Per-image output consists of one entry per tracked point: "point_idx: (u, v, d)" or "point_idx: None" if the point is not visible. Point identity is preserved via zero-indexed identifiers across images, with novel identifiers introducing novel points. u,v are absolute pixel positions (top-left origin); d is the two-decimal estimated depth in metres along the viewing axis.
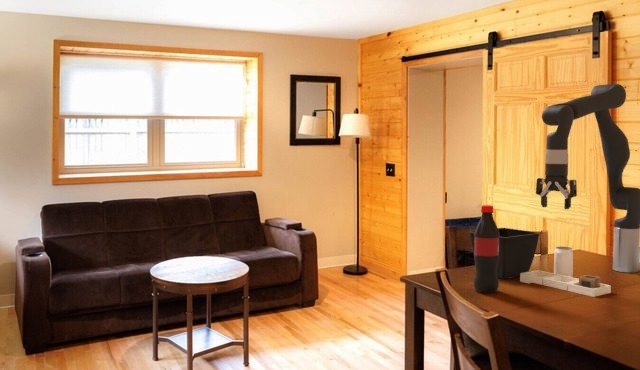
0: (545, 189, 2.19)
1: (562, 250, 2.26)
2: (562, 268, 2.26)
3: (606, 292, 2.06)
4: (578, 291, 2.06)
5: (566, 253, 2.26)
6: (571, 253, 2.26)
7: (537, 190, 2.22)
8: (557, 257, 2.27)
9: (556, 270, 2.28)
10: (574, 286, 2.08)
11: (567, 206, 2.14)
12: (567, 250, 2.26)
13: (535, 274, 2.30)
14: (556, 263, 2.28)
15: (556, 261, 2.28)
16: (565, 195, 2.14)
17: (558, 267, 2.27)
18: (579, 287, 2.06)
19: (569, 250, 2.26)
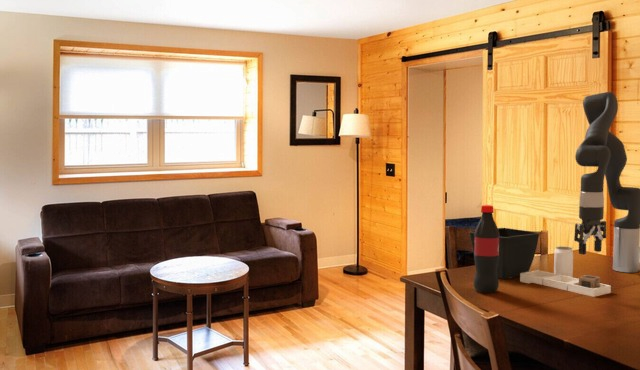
0: (589, 235, 2.04)
1: (562, 250, 2.26)
2: (562, 268, 2.26)
3: (606, 292, 2.06)
4: (578, 291, 2.06)
5: (566, 253, 2.26)
6: (571, 253, 2.26)
7: (582, 237, 2.03)
8: (557, 257, 2.27)
9: (556, 270, 2.28)
10: (574, 286, 2.08)
11: (600, 248, 2.09)
12: (567, 250, 2.26)
13: (535, 274, 2.30)
14: (556, 263, 2.28)
15: (556, 261, 2.28)
16: (601, 237, 2.08)
17: (558, 267, 2.27)
18: (579, 287, 2.06)
19: (569, 250, 2.26)
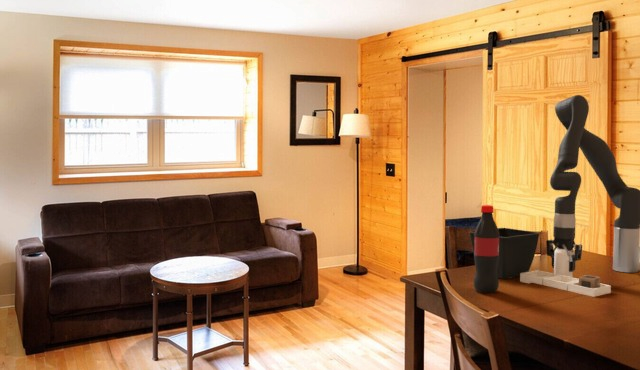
0: None
1: (562, 250, 2.26)
2: (562, 268, 2.26)
3: (606, 292, 2.06)
4: (578, 291, 2.06)
5: (566, 253, 2.26)
6: None
7: None
8: (557, 257, 2.27)
9: (556, 270, 2.28)
10: (574, 286, 2.08)
11: None
12: None
13: (535, 274, 2.30)
14: (556, 263, 2.28)
15: (556, 261, 2.28)
16: None
17: (558, 267, 2.27)
18: (579, 287, 2.06)
19: None
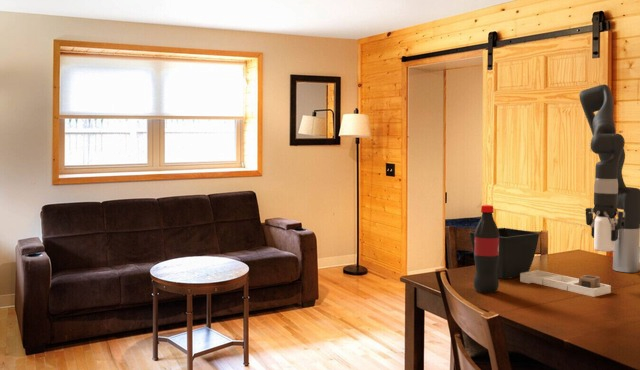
0: None
1: (603, 218, 2.11)
2: (604, 238, 2.11)
3: (606, 292, 2.06)
4: (578, 291, 2.06)
5: (608, 221, 2.10)
6: None
7: None
8: (598, 226, 2.12)
9: (597, 240, 2.13)
10: (574, 286, 2.08)
11: None
12: None
13: (535, 274, 2.30)
14: (597, 232, 2.12)
15: (597, 230, 2.12)
16: None
17: (599, 237, 2.12)
18: (579, 287, 2.06)
19: None
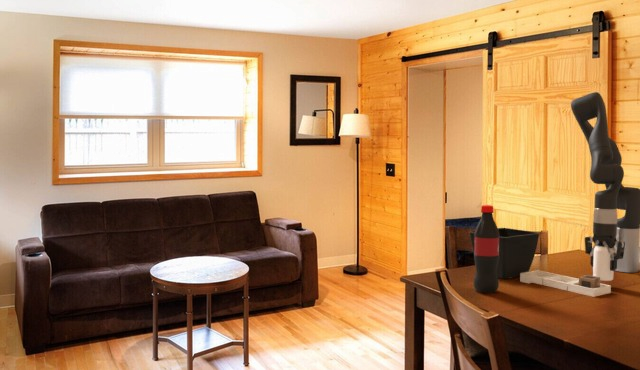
0: None
1: (603, 248, 2.11)
2: (603, 267, 2.11)
3: (606, 292, 2.06)
4: (578, 291, 2.06)
5: (607, 251, 2.11)
6: None
7: None
8: (597, 255, 2.13)
9: (596, 269, 2.13)
10: (574, 286, 2.08)
11: None
12: None
13: (535, 274, 2.30)
14: (596, 261, 2.13)
15: (596, 260, 2.13)
16: None
17: (598, 266, 2.12)
18: (579, 287, 2.06)
19: None
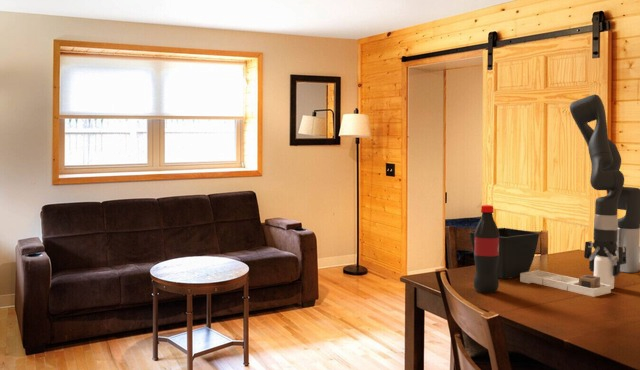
0: None
1: (603, 258, 2.12)
2: (603, 277, 2.12)
3: (606, 292, 2.06)
4: (578, 291, 2.06)
5: (607, 261, 2.11)
6: None
7: None
8: (597, 265, 2.13)
9: None
10: (574, 286, 2.08)
11: None
12: (608, 258, 2.11)
13: (535, 274, 2.30)
14: (596, 272, 2.13)
15: (597, 270, 2.13)
16: None
17: (598, 276, 2.13)
18: (579, 287, 2.06)
19: None
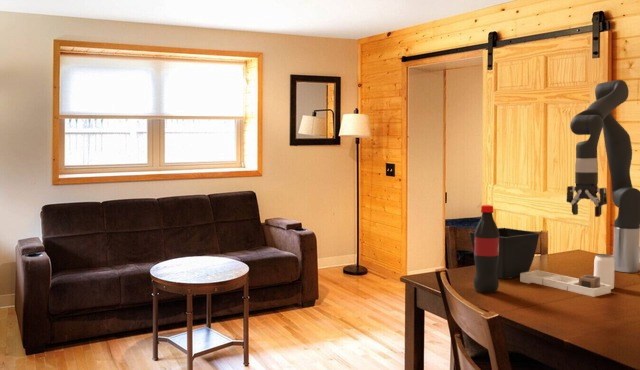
0: None
1: (603, 258, 2.12)
2: (603, 277, 2.12)
3: (606, 292, 2.06)
4: (578, 291, 2.06)
5: (608, 261, 2.11)
6: (613, 261, 2.12)
7: None
8: (598, 265, 2.13)
9: None
10: (574, 286, 2.08)
11: None
12: (609, 258, 2.11)
13: (535, 274, 2.30)
14: (596, 272, 2.13)
15: (597, 270, 2.13)
16: None
17: (598, 276, 2.13)
18: (579, 287, 2.06)
19: (611, 258, 2.11)
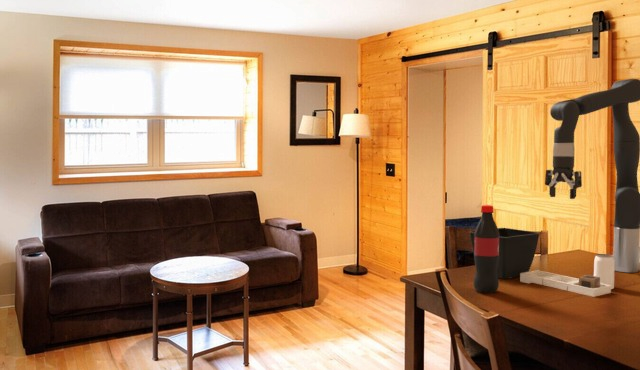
0: None
1: (603, 258, 2.12)
2: (603, 277, 2.12)
3: (606, 292, 2.06)
4: (578, 291, 2.06)
5: (607, 261, 2.11)
6: (613, 261, 2.12)
7: None
8: (598, 265, 2.13)
9: None
10: (574, 286, 2.08)
11: None
12: (609, 258, 2.11)
13: (535, 274, 2.30)
14: (596, 272, 2.13)
15: (597, 270, 2.13)
16: None
17: (598, 276, 2.13)
18: (579, 287, 2.06)
19: (611, 258, 2.11)
